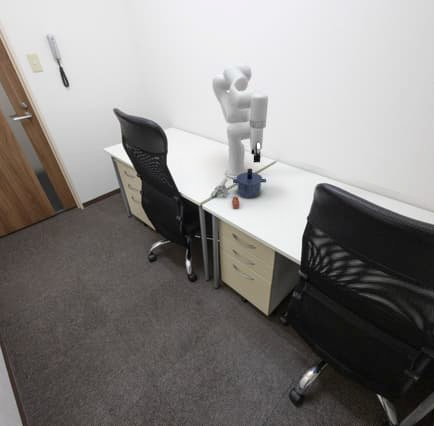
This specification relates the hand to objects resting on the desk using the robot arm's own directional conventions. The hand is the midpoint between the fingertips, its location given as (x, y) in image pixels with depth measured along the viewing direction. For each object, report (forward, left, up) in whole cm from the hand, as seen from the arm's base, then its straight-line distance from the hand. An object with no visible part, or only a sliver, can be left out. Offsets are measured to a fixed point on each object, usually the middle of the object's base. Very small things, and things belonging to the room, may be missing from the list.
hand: (255, 158), depth 119 cm
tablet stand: (0, -18, -21) cm, 28 cm away
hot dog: (+11, -10, -21) cm, 26 cm away
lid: (-1, -2, -13) cm, 13 cm away
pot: (-1, -2, -21) cm, 21 cm away
